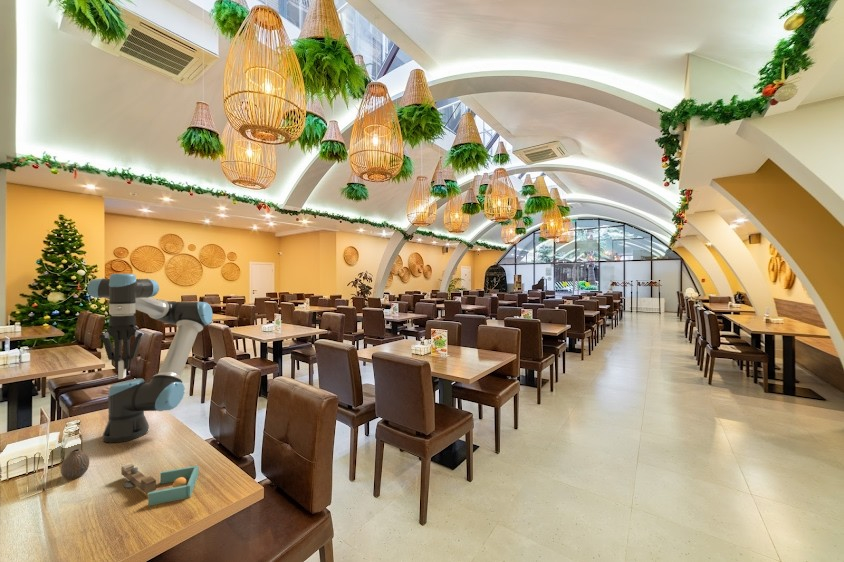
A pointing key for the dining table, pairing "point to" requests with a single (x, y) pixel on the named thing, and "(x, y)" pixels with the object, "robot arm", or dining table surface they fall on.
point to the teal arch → (174, 492)
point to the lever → (138, 478)
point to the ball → (179, 482)
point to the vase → (75, 464)
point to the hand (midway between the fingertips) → (122, 377)
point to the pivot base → (129, 485)
